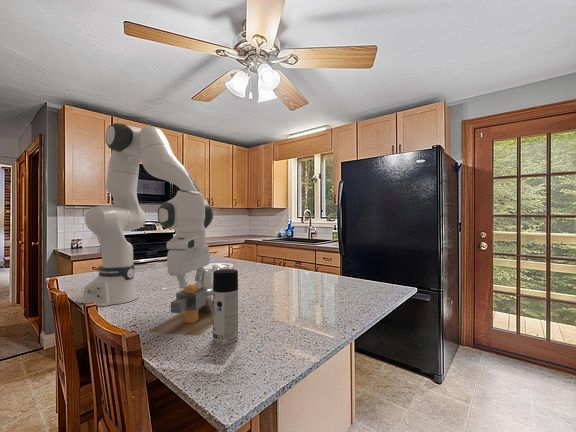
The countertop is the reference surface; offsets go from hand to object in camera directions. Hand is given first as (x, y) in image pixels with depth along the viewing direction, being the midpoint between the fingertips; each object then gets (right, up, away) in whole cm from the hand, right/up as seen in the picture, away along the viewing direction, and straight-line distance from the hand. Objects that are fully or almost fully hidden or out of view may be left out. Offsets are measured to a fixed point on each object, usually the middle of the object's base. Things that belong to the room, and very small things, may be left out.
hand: (191, 284), depth 94 cm
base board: (+1, -13, +3) cm, 13 cm away
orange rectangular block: (0, -12, 0) cm, 12 cm away
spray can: (+14, -13, -14) cm, 24 cm away
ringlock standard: (+1, -12, +3) cm, 12 cm away
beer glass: (+4, -13, +23) cm, 27 cm away
